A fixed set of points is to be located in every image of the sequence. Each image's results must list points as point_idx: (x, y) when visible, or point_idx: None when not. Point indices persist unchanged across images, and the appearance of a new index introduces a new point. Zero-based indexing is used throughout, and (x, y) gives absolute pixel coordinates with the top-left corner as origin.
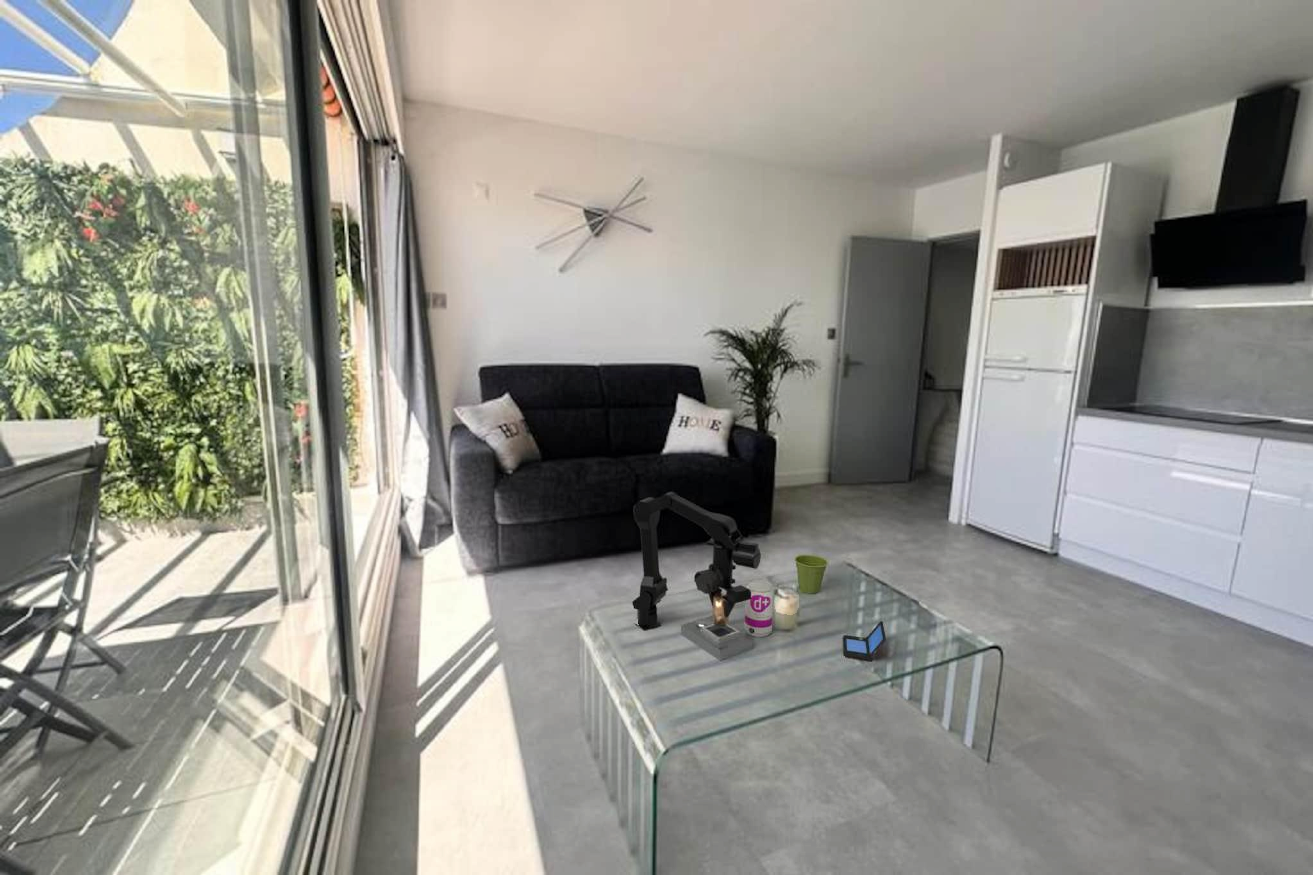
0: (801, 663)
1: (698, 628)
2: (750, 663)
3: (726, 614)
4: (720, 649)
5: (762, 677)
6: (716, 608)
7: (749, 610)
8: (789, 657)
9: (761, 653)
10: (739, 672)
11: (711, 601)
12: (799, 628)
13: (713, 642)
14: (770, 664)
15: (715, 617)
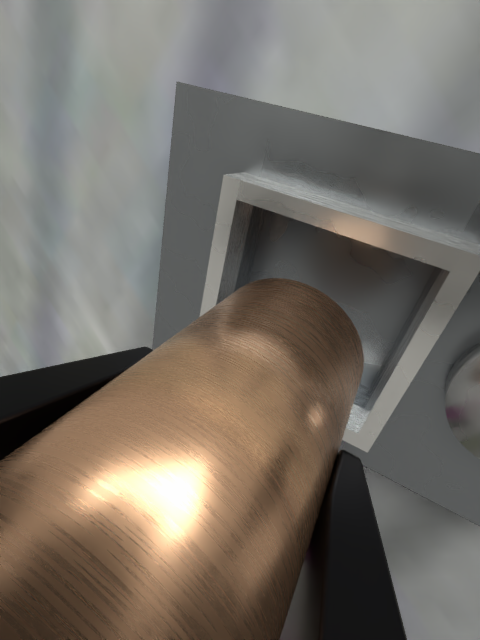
0: (38, 324)
1: None
2: (114, 202)
3: (109, 362)
4: (186, 97)
5: (23, 128)
6: (168, 384)
7: None
8: (76, 341)
9: (141, 315)
10: (87, 73)
11: (377, 606)
12: None
13: (285, 154)
14: (73, 253)
15: (261, 316)
